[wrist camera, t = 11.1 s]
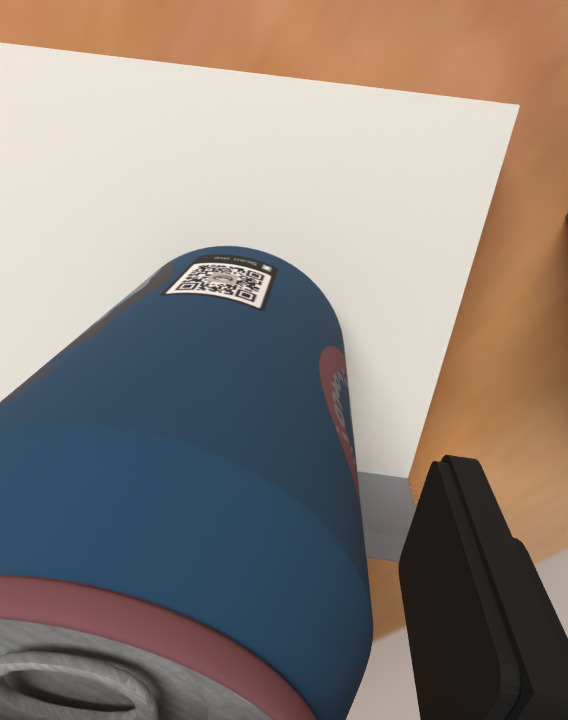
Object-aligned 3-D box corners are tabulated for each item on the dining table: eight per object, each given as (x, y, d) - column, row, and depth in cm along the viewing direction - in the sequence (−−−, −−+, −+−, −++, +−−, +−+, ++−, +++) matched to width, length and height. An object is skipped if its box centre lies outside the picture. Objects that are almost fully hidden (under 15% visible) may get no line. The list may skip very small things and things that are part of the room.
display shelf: (484, 110, 15) (576, 96, 9) (389, 461, 21) (411, 572, 16) (-233, 24, 15) (-537, -36, 10) (-112, 391, 22) (-255, 476, 16)
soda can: (322, 436, 17) (324, 936, 6) (141, 406, 17) (-157, 857, 6) (363, 255, 14) (497, 644, 3) (142, 219, 14) (-431, 491, 3)
